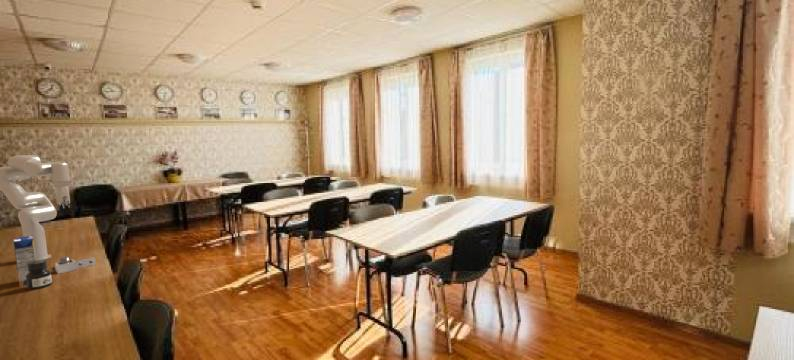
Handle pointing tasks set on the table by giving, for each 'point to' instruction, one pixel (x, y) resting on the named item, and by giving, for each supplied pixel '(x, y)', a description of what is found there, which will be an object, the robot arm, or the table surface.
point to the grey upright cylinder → (64, 260)
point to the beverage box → (24, 256)
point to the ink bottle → (38, 275)
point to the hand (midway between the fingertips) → (65, 213)
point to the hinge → (74, 265)
